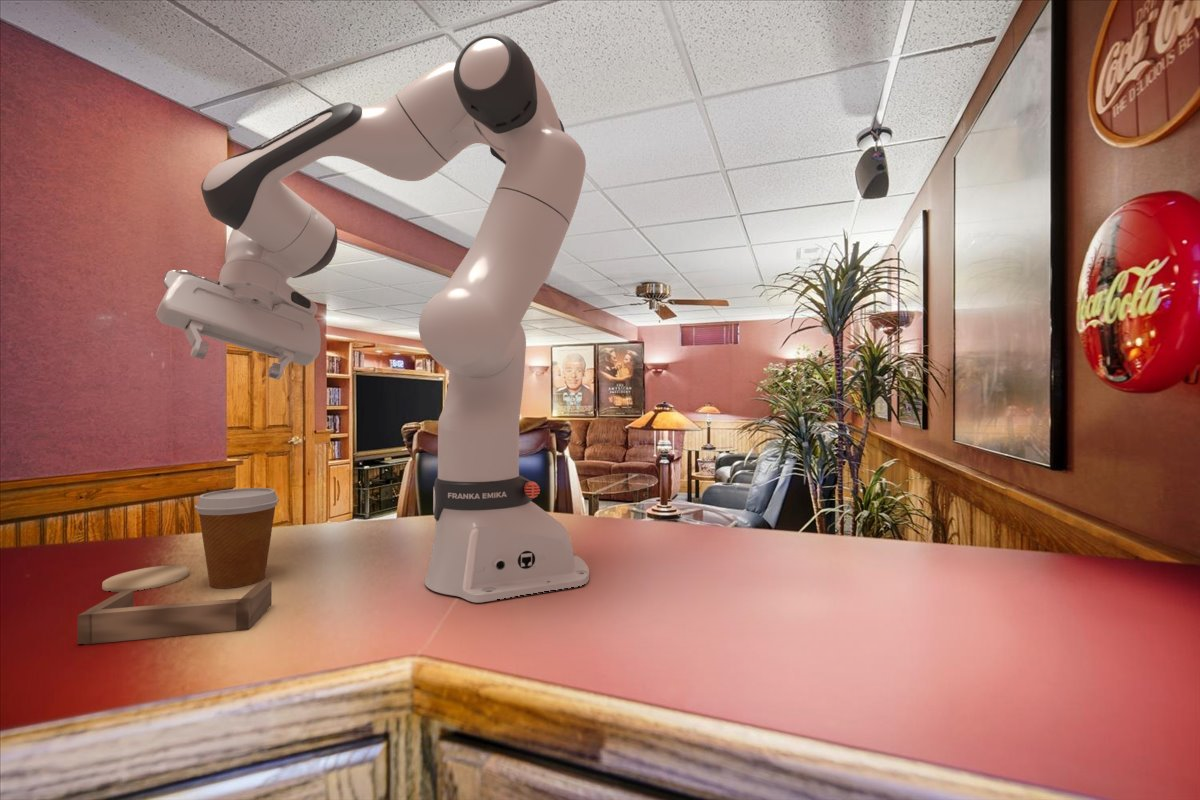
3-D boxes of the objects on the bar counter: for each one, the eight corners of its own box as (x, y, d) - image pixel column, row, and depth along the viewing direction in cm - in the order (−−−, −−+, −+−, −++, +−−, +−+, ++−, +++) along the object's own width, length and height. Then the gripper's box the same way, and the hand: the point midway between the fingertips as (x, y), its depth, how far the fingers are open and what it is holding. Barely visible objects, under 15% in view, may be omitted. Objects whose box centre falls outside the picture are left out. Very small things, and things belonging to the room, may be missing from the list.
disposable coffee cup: (236, 595, 66) (237, 500, 66) (175, 590, 68) (175, 497, 68) (294, 571, 75) (295, 488, 75) (239, 567, 77) (239, 486, 77)
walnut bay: (271, 605, 63) (271, 580, 63) (248, 629, 56) (248, 601, 56) (120, 617, 59) (120, 591, 59) (77, 645, 53) (77, 615, 53)
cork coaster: (201, 567, 77) (201, 563, 77) (167, 588, 68) (167, 584, 68) (128, 572, 75) (128, 568, 75) (84, 594, 66) (84, 590, 66)
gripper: (175, 250, 72) (152, 327, 65) (327, 308, 86) (322, 376, 79) (161, 278, 75) (137, 353, 68) (310, 329, 89) (304, 396, 82)
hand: (238, 366), depth 74 cm, fingers open, 8 cm apart
